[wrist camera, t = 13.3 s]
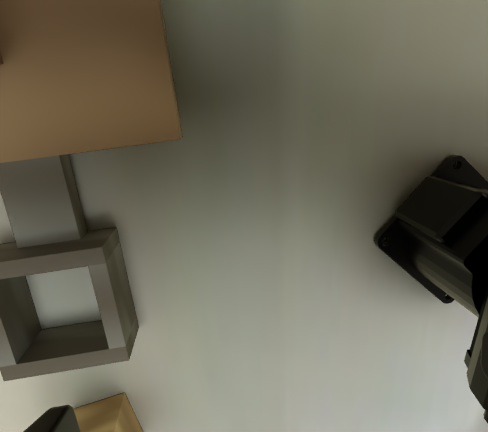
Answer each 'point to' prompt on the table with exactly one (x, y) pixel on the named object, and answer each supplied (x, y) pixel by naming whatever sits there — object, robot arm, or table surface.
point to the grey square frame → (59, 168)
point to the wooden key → (108, 416)
